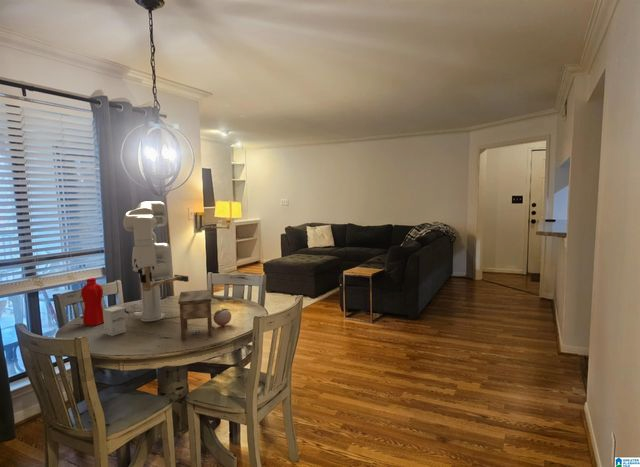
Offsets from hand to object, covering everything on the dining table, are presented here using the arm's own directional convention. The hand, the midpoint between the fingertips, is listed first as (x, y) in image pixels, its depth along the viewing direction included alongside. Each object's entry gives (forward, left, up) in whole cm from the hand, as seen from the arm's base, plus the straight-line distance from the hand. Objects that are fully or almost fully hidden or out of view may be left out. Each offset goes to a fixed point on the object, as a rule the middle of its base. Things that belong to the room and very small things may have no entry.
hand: (146, 281), depth 185 cm
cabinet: (+22, +4, -29) cm, 36 cm away
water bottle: (-33, +37, -29) cm, 58 cm away
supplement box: (-18, +17, -29) cm, 38 cm away
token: (+21, +4, -29) cm, 36 cm away
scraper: (+7, +7, -4) cm, 11 cm away
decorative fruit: (+34, +10, -29) cm, 46 cm away
